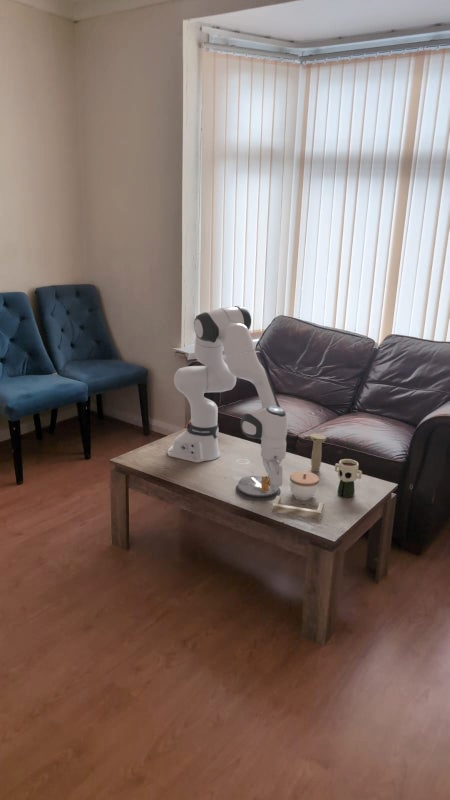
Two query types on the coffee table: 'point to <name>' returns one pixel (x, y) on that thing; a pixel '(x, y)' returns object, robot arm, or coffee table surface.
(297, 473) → the lidded jar
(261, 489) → the turntable
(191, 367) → the robot arm
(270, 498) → the base
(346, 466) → the character mug
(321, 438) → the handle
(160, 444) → the coffee table surface
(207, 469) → the coffee table surface
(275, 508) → the cream u-shaped bracket
